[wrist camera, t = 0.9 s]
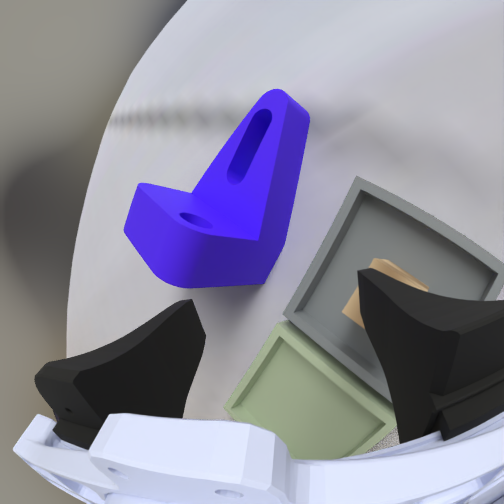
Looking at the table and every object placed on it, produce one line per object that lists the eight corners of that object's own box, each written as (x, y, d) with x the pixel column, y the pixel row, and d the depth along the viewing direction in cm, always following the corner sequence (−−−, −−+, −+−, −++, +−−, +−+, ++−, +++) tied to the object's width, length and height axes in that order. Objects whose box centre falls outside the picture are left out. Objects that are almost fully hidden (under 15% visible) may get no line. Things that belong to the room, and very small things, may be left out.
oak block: (429, 287, 17) (426, 293, 13) (401, 330, 18) (389, 348, 15) (388, 259, 20) (374, 258, 16) (362, 302, 21) (341, 311, 17)
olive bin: (404, 409, 18) (399, 423, 16) (321, 478, 22) (310, 490, 20) (291, 318, 26) (277, 323, 24) (237, 400, 29) (223, 407, 27)
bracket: (264, 283, 28) (166, 289, 19) (204, 233, 34) (117, 223, 25) (345, 121, 23) (275, 47, 14) (266, 100, 29) (189, 51, 20)
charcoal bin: (503, 269, 14) (511, 269, 12) (412, 401, 18) (408, 415, 16) (365, 184, 22) (356, 175, 20) (296, 310, 25) (282, 314, 23)
